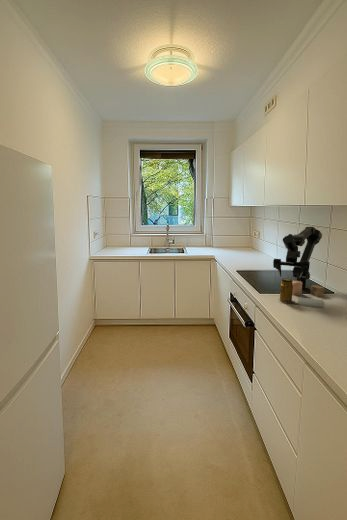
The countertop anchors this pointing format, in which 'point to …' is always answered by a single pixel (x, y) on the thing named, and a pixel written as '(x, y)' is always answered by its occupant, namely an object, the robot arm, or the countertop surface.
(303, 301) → the slate mat
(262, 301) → the countertop surface
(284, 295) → the condiment
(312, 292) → the walnut block
